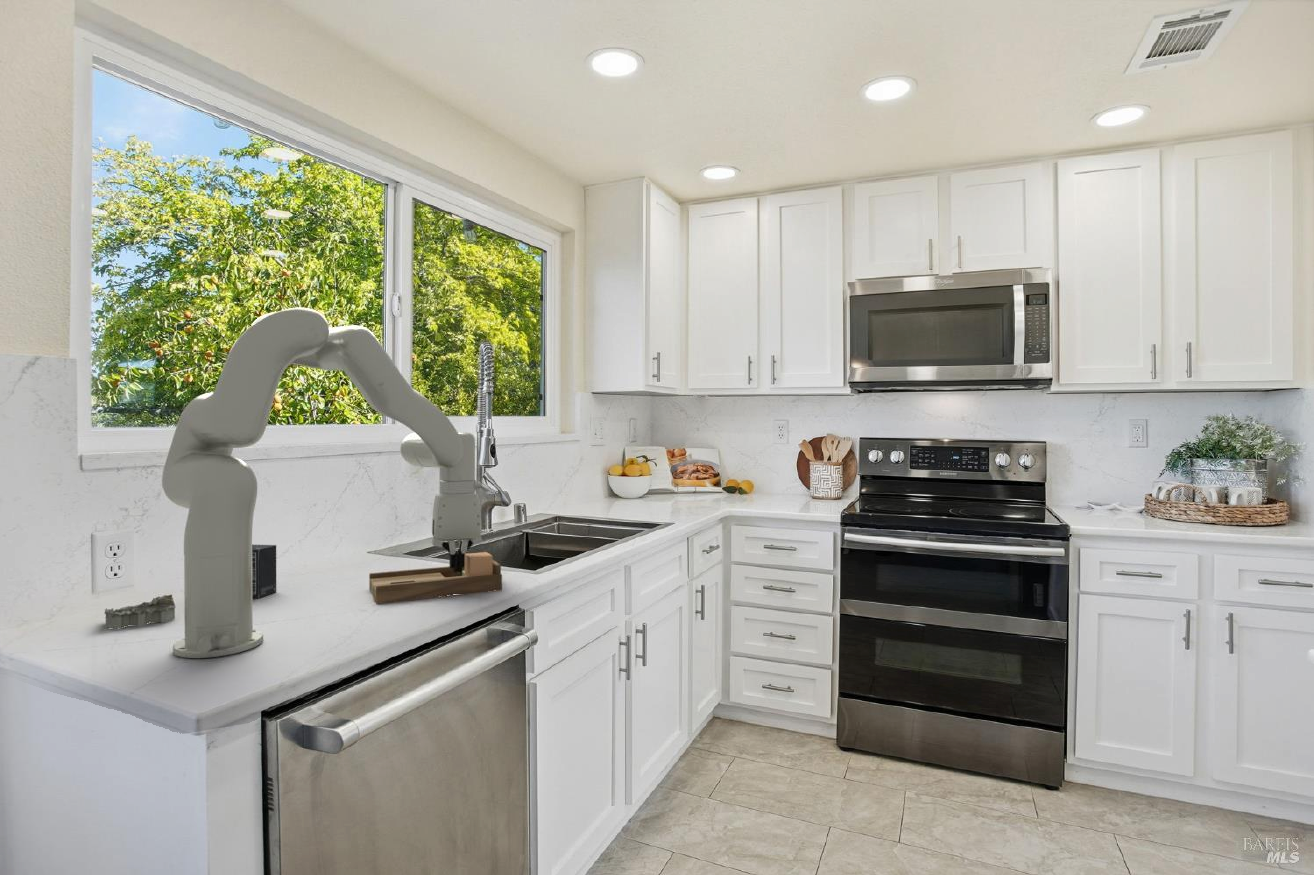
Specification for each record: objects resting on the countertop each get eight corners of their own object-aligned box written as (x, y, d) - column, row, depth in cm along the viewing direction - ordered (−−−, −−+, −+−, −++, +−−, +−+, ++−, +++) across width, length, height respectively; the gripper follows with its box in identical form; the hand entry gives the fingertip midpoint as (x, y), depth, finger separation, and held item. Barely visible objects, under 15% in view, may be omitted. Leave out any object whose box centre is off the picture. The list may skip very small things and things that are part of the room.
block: (492, 578, 157) (492, 555, 157) (469, 580, 154) (470, 557, 154) (486, 573, 161) (486, 552, 161) (464, 575, 159) (464, 553, 159)
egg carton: (175, 614, 136) (175, 593, 136) (175, 623, 130) (175, 601, 130) (105, 622, 130) (105, 600, 130) (102, 632, 123) (102, 609, 123)
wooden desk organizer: (501, 590, 156) (501, 565, 156) (376, 603, 144) (376, 576, 144) (486, 577, 168) (486, 554, 168) (369, 588, 156) (369, 564, 156)
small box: (278, 591, 153) (278, 543, 153) (259, 599, 147) (258, 549, 146) (233, 590, 154) (233, 542, 154) (211, 597, 148) (211, 547, 147)
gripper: (486, 485, 162) (486, 565, 162) (419, 488, 155) (418, 570, 155) (495, 488, 155) (495, 571, 155) (425, 491, 148) (425, 577, 148)
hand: (457, 570), depth 155 cm, fingers closed
